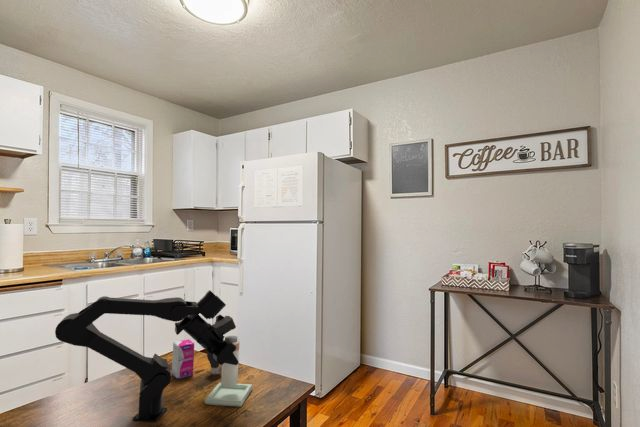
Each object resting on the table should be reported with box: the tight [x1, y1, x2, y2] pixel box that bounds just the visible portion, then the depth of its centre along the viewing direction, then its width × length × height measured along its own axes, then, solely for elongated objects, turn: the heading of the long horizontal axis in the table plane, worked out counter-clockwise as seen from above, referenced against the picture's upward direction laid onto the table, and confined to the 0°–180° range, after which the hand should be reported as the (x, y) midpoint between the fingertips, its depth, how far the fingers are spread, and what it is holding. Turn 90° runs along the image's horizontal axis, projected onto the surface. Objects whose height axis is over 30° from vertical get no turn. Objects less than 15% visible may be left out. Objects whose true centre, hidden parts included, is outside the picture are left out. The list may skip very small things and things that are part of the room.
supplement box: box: [171, 338, 195, 380], centre depth 123 cm, size 6×6×12 cm
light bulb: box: [206, 351, 220, 376], centre depth 124 cm, size 6×6×10 cm
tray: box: [204, 381, 253, 408], centre depth 108 cm, size 11×11×2 cm
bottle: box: [220, 335, 240, 387], centre depth 108 cm, size 5×5×14 cm
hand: (234, 360), depth 109 cm, fingers closed on bottle, 5 cm apart
